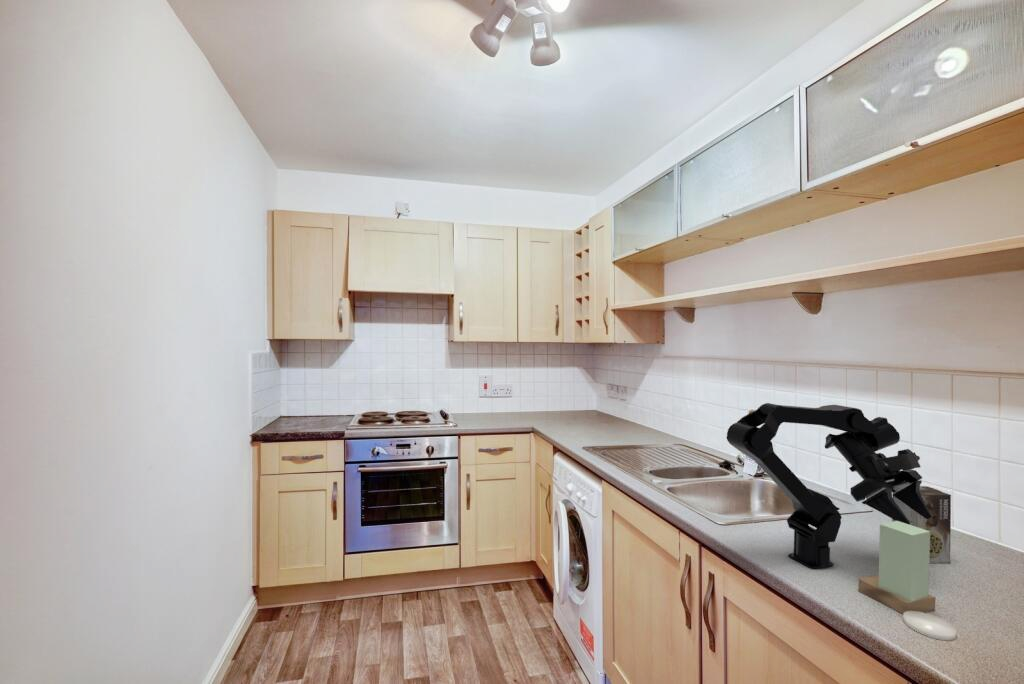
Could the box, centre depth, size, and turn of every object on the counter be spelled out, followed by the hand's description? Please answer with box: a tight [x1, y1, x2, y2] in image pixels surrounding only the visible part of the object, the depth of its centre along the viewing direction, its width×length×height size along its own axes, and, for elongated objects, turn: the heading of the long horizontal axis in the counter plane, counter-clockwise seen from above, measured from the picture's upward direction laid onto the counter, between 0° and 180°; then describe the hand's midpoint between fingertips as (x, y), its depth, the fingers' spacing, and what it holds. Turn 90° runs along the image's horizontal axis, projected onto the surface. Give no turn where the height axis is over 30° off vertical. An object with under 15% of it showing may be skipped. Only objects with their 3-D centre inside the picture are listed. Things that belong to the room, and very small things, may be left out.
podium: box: [857, 574, 936, 615], centre depth 91 cm, size 9×8×2 cm
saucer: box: [902, 611, 957, 642], centre depth 82 cm, size 7×7×1 cm
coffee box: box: [891, 485, 952, 564], centre depth 110 cm, size 9×6×16 cm
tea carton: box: [878, 521, 930, 602], centre depth 90 cm, size 6×6×12 cm
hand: (919, 521), depth 97 cm, fingers open, 9 cm apart
